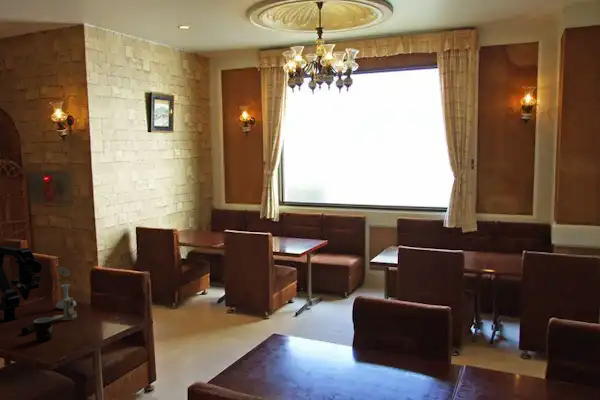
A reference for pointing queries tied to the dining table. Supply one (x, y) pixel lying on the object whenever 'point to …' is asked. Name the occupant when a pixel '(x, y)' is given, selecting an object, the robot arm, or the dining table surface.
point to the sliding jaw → (65, 306)
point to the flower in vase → (64, 286)
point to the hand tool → (28, 329)
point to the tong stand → (67, 311)
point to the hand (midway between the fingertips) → (25, 299)
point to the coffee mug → (43, 328)
